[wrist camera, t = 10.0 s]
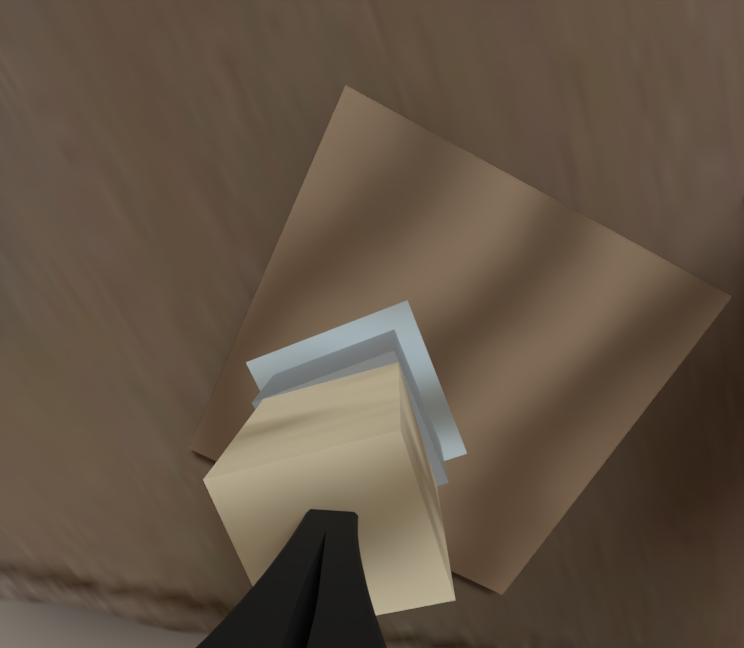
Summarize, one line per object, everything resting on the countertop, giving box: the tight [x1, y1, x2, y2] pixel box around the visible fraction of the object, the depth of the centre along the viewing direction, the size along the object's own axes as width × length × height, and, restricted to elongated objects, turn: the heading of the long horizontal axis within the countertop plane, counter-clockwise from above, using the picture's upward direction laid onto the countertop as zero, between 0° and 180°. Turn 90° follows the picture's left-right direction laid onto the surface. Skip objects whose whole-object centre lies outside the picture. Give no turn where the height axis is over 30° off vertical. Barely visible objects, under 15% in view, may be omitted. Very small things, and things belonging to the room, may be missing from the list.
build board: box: [189, 85, 732, 595], centre depth 19 cm, size 18×18×1 cm
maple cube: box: [203, 362, 455, 615], centre depth 13 cm, size 6×6×5 cm
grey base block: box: [252, 329, 449, 486], centre depth 17 cm, size 6×6×3 cm
